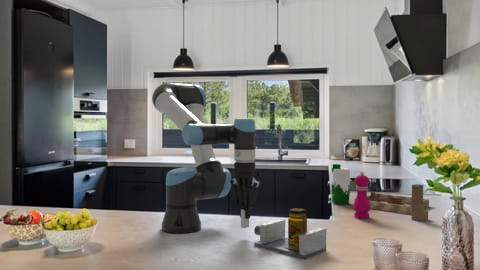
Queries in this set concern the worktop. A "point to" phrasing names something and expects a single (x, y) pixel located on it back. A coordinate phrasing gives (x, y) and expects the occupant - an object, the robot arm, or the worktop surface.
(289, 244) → the condiment
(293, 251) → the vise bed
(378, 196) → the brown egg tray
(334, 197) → the milk carton
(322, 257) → the worktop surface
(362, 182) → the pepper mill
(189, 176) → the robot arm
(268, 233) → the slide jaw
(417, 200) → the wooden block
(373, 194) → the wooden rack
